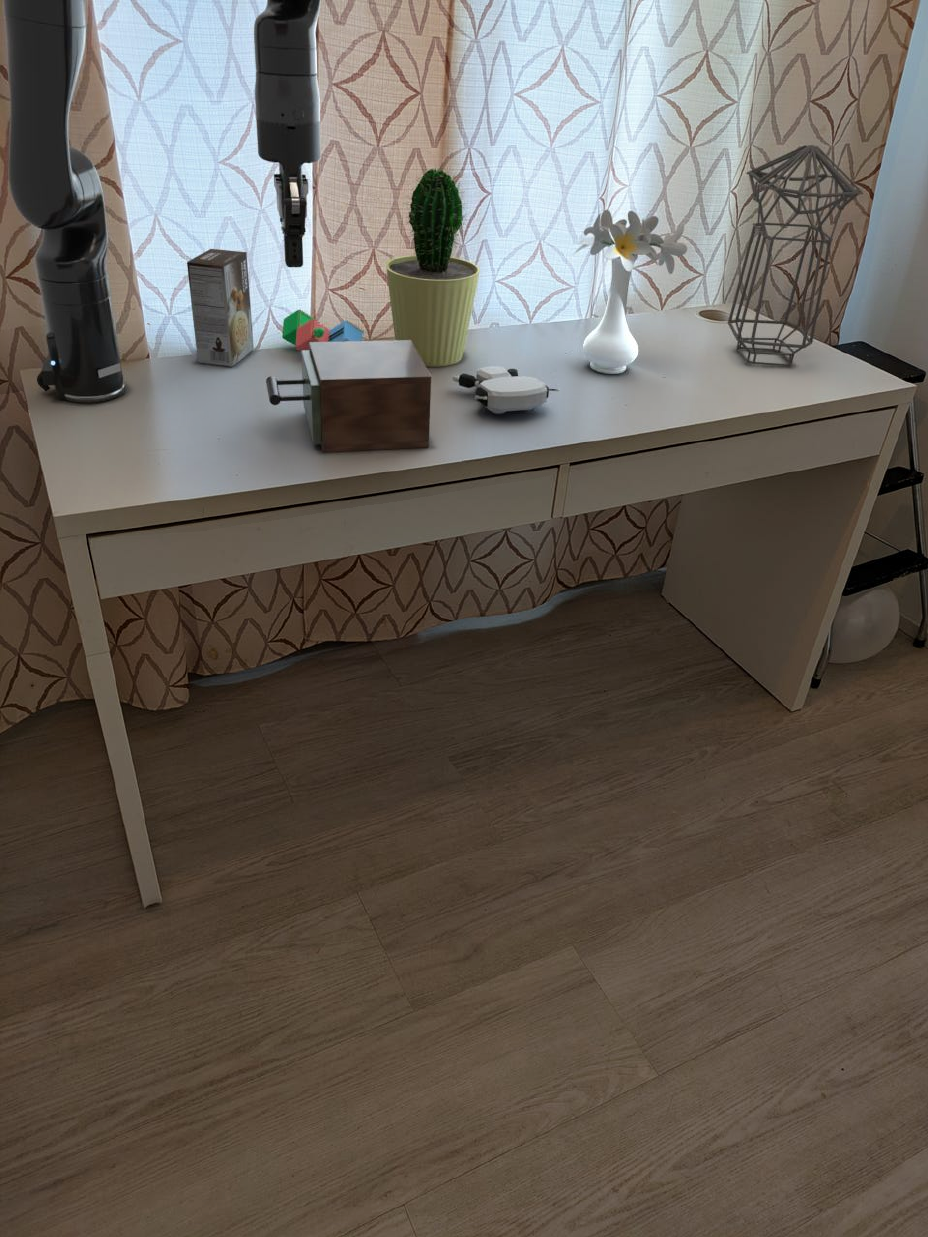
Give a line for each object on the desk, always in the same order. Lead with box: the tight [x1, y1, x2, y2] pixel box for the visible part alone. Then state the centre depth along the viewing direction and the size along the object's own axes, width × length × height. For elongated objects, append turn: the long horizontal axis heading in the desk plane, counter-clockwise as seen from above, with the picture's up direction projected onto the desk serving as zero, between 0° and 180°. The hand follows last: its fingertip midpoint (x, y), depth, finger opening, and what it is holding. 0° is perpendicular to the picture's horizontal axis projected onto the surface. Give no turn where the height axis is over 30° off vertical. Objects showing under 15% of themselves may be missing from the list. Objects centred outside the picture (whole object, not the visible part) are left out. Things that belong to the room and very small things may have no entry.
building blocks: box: [281, 309, 365, 352], centre depth 163 cm, size 8×8×12 cm
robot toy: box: [451, 365, 560, 415], centre depth 150 cm, size 12×4×15 cm
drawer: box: [265, 350, 322, 445], centre depth 136 cm, size 19×14×8 cm
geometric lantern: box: [727, 144, 864, 367], centre depth 165 cm, size 16×16×35 cm
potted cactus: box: [384, 165, 481, 368], centre depth 158 cm, size 15×15×30 cm
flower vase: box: [572, 209, 688, 375], centre depth 160 cm, size 13×18×25 cm
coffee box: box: [186, 248, 255, 368], centre depth 156 cm, size 9×6×16 cm
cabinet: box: [309, 339, 432, 453], centre depth 137 cm, size 15×15×10 cm
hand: (294, 265), depth 125 cm, fingers closed
